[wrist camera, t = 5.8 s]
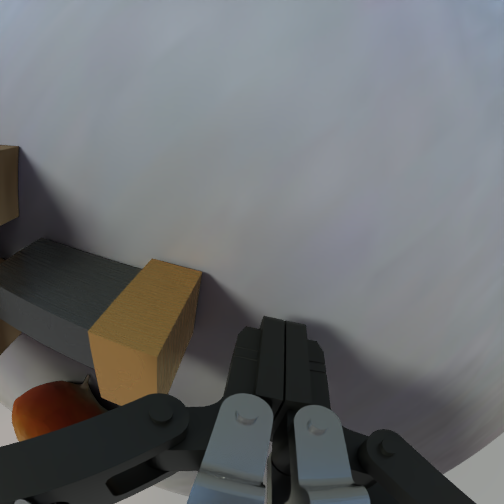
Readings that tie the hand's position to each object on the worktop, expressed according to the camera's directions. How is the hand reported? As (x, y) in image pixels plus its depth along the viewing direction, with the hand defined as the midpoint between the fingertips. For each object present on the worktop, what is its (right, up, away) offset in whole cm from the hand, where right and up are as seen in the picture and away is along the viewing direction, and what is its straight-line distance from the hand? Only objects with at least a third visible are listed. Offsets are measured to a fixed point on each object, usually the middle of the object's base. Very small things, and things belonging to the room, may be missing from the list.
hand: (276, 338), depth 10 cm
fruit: (-12, -7, +6) cm, 16 cm away
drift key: (-7, +2, +1) cm, 7 cm away
